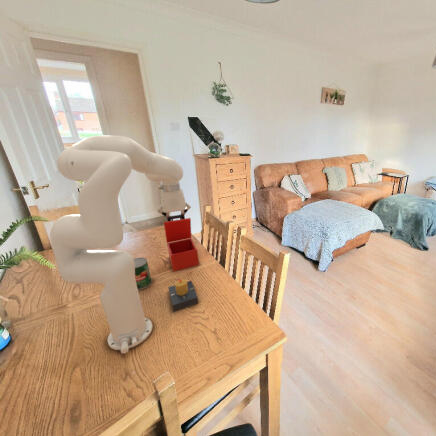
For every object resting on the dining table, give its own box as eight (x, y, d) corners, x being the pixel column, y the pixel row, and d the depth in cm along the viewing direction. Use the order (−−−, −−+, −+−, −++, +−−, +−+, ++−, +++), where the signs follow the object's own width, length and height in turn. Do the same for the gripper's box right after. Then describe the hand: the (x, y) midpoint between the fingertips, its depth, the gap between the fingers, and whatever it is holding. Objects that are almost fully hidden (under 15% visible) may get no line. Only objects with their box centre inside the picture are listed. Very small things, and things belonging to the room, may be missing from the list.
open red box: (198, 264, 119) (197, 249, 115) (173, 271, 113) (170, 255, 109) (193, 252, 129) (191, 238, 126) (169, 257, 123) (166, 243, 120)
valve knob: (189, 293, 95) (187, 283, 93) (177, 297, 93) (175, 287, 91) (187, 287, 98) (185, 277, 97) (175, 290, 96) (173, 280, 94)
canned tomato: (146, 276, 109) (141, 255, 104) (155, 282, 105) (150, 261, 100) (127, 285, 103) (121, 263, 98) (136, 292, 99) (130, 270, 94)
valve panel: (198, 303, 94) (197, 296, 93) (173, 311, 90) (172, 304, 89) (191, 286, 104) (191, 280, 103) (169, 292, 99) (168, 286, 98)
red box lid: (190, 218, 116) (187, 211, 119) (164, 223, 110) (162, 214, 113) (191, 237, 125) (188, 230, 128) (166, 242, 120) (164, 234, 123)
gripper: (151, 191, 105) (158, 229, 111) (192, 187, 113) (196, 222, 120) (149, 187, 110) (156, 223, 117) (188, 184, 119) (193, 217, 126)
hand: (176, 222), depth 119 cm, fingers closed on red box lid, 5 cm apart
